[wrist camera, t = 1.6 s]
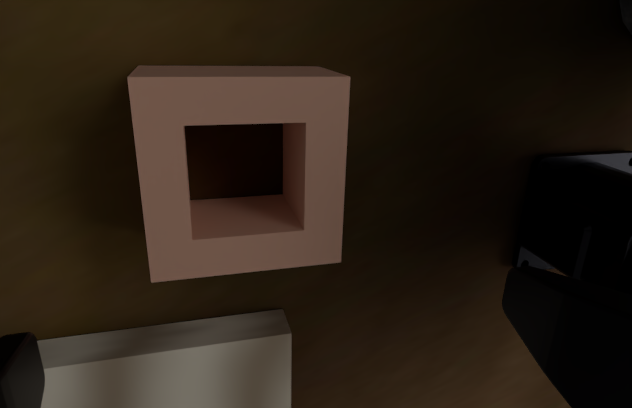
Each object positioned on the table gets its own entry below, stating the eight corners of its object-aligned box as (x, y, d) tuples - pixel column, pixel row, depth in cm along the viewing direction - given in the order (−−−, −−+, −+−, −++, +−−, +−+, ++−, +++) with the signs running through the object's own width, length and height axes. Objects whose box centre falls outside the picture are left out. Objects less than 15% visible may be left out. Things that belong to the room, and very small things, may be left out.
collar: (318, 66, 19) (350, 76, 16) (314, 222, 22) (340, 262, 18) (138, 65, 17) (127, 76, 14) (156, 235, 20) (150, 282, 16)
